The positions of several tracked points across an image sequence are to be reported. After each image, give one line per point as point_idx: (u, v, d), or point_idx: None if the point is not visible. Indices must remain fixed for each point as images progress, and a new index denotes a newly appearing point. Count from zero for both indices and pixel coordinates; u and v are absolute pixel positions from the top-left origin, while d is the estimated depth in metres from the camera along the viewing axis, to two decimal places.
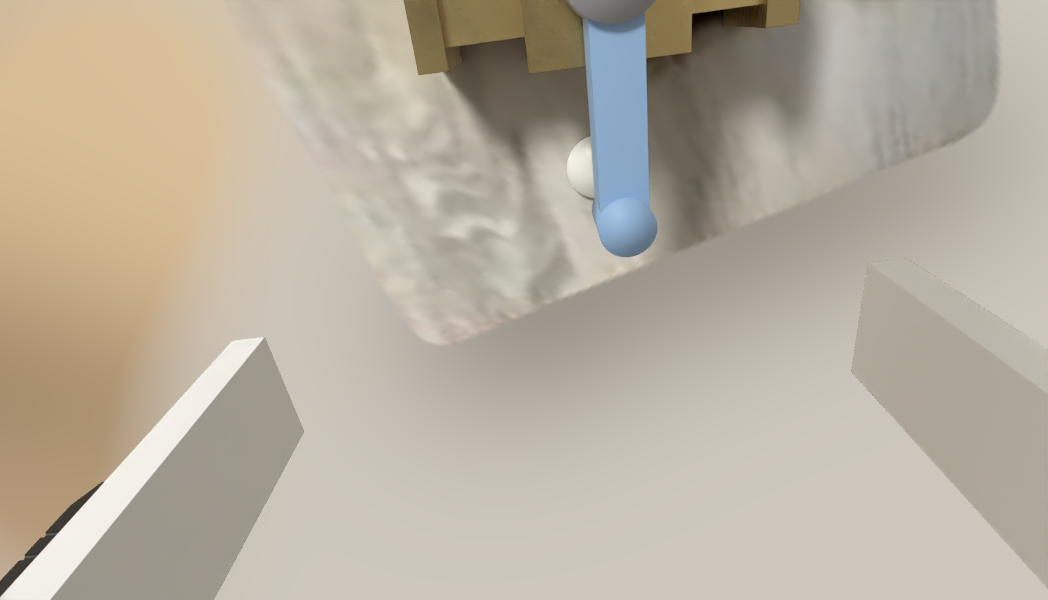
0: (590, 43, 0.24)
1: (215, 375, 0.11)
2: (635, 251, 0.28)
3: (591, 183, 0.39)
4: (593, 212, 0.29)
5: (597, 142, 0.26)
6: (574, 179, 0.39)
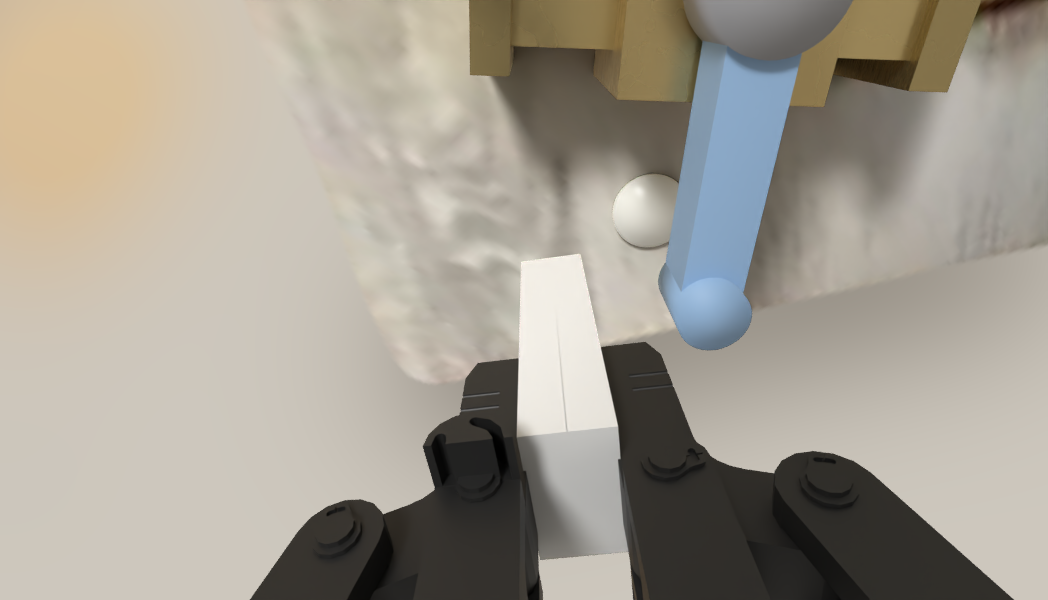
0: (721, 79, 0.18)
1: (534, 283, 0.13)
2: (716, 345, 0.22)
3: (638, 229, 0.33)
4: (663, 282, 0.24)
5: (699, 205, 0.20)
6: (619, 222, 0.33)
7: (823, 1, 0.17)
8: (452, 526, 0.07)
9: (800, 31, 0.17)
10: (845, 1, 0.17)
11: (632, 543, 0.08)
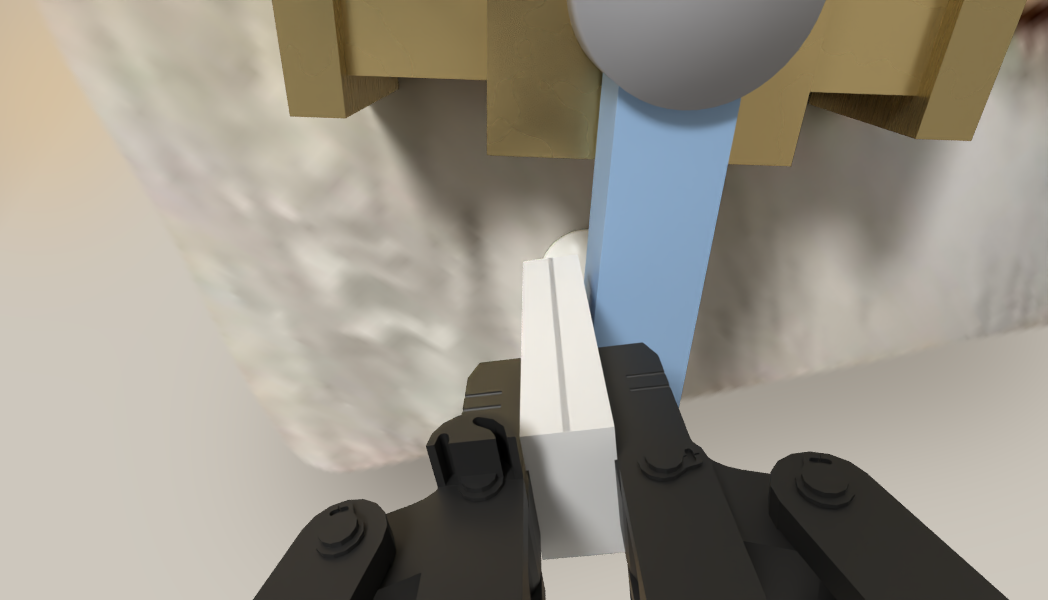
0: (614, 137, 0.11)
1: (536, 283, 0.13)
2: None
3: None
4: None
5: (596, 320, 0.13)
6: None
7: (770, 14, 0.10)
8: (455, 526, 0.07)
9: (734, 63, 0.10)
10: (808, 14, 0.10)
11: (629, 543, 0.08)
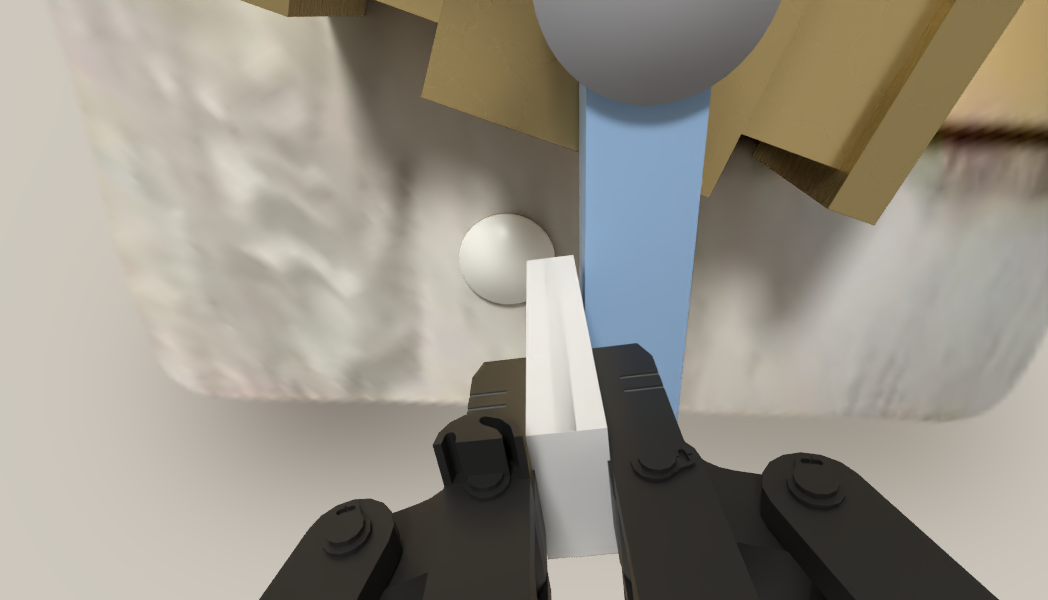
0: (587, 137, 0.11)
1: (540, 282, 0.13)
2: None
3: (488, 277, 0.26)
4: None
5: (587, 320, 0.13)
6: (466, 262, 0.25)
7: (731, 1, 0.10)
8: (462, 525, 0.07)
9: (699, 54, 0.10)
10: None
11: (623, 544, 0.08)
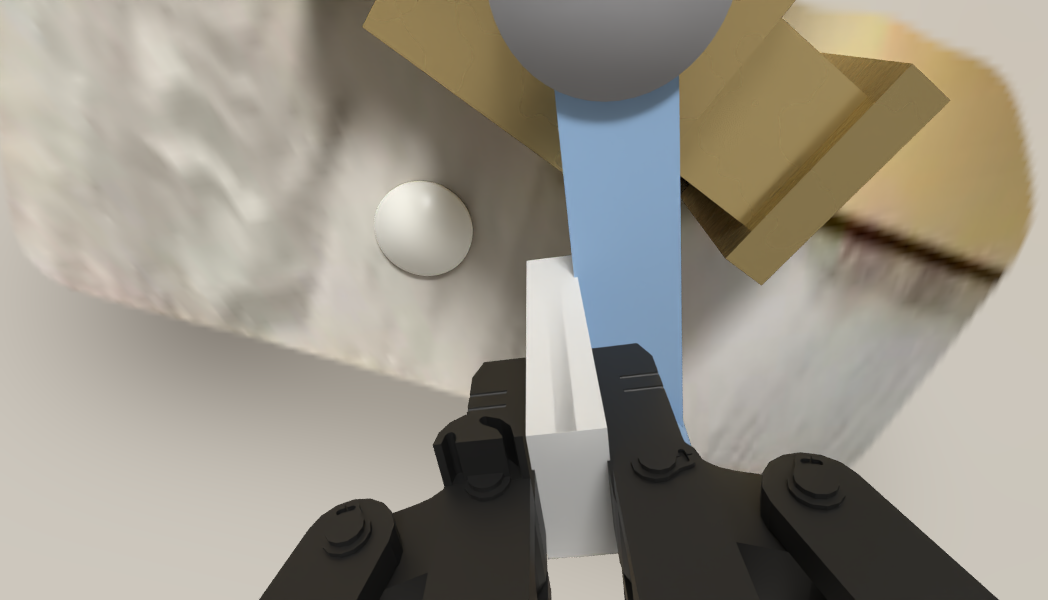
0: (561, 138, 0.11)
1: (540, 282, 0.13)
2: None
3: (400, 241, 0.25)
4: None
5: None
6: (381, 220, 0.25)
7: None
8: (461, 525, 0.07)
9: (661, 45, 0.10)
10: None
11: (623, 544, 0.08)
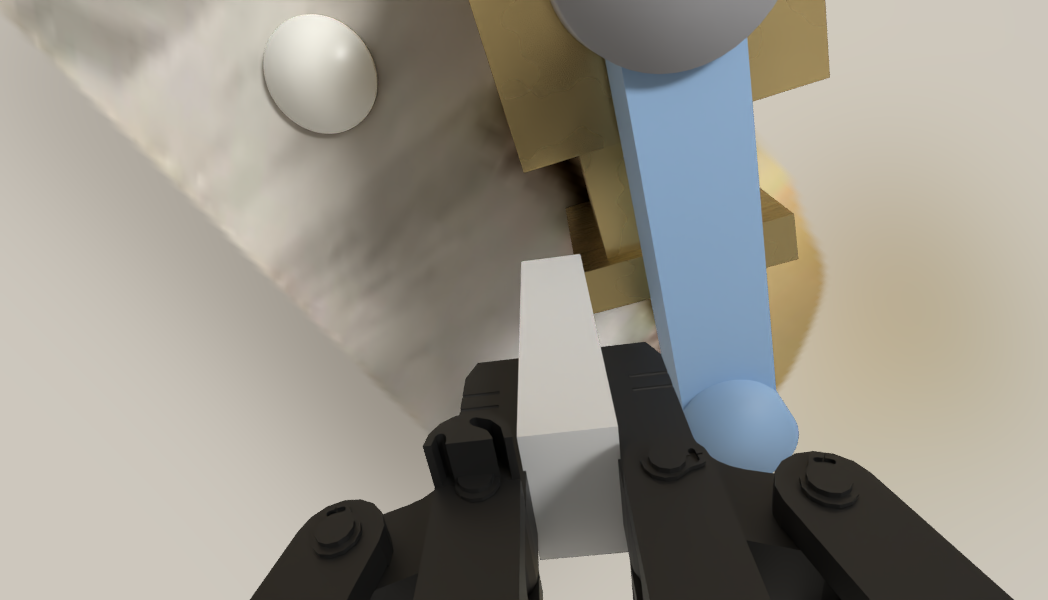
0: (631, 116, 0.11)
1: (534, 283, 0.13)
2: None
3: (289, 70, 0.22)
4: None
5: (665, 296, 0.13)
6: (283, 36, 0.21)
7: None
8: (452, 526, 0.07)
9: (729, 7, 0.10)
10: None
11: (632, 543, 0.08)
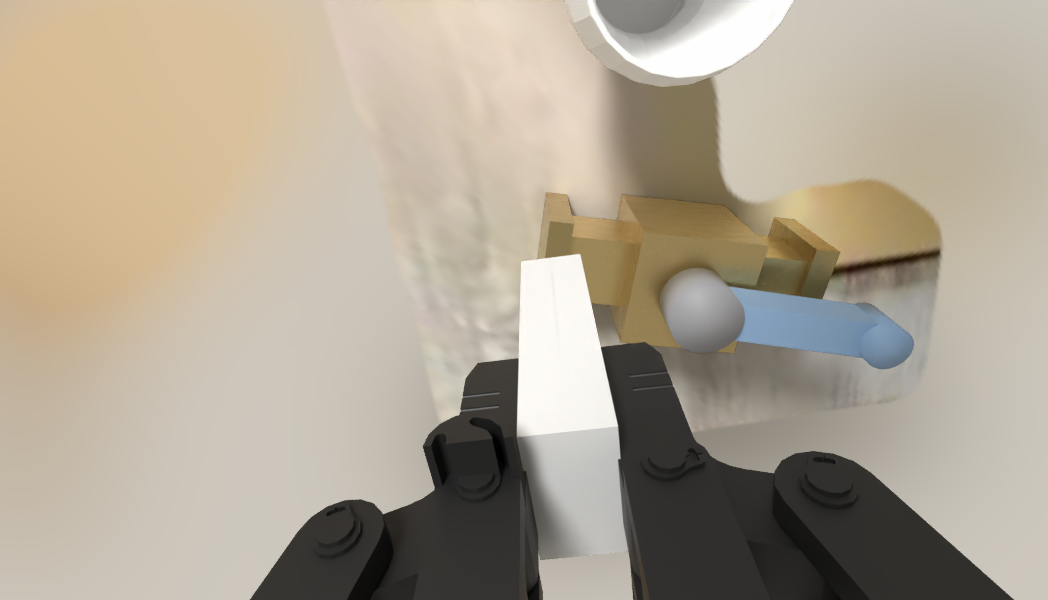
0: (744, 341, 0.34)
1: (534, 283, 0.13)
2: (909, 347, 0.34)
3: None
4: None
5: (809, 349, 0.35)
6: None
7: (722, 304, 0.33)
8: (452, 526, 0.07)
9: (733, 313, 0.33)
10: (725, 294, 0.32)
11: (632, 543, 0.08)
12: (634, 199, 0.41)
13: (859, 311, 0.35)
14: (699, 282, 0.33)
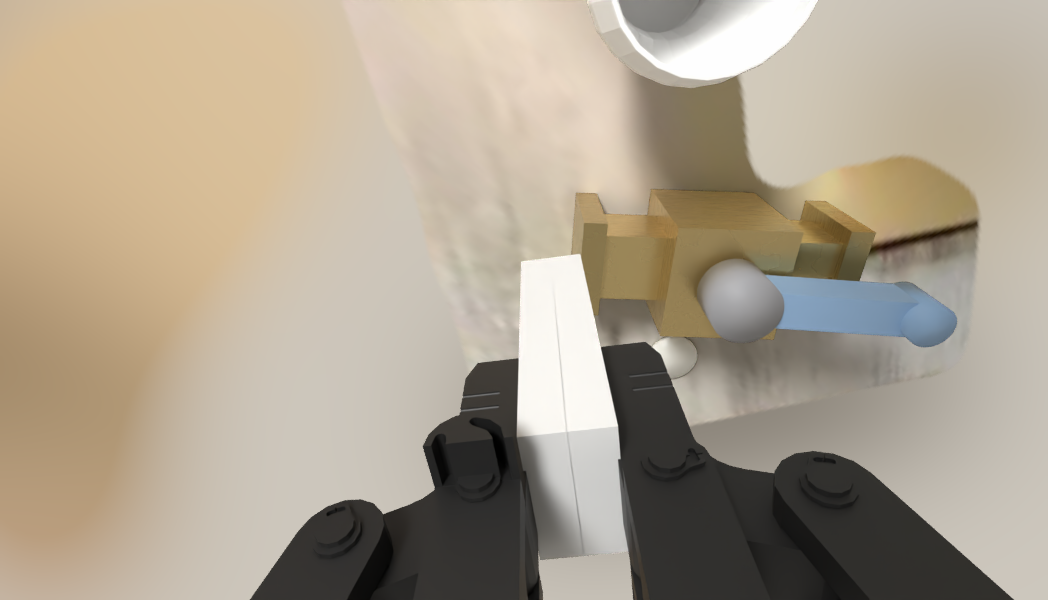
0: (784, 328, 0.35)
1: (534, 283, 0.13)
2: (953, 324, 0.34)
3: None
4: None
5: (851, 332, 0.35)
6: None
7: (761, 294, 0.33)
8: (452, 526, 0.07)
9: (773, 302, 0.33)
10: (764, 284, 0.33)
11: (632, 543, 0.08)
12: (664, 193, 0.42)
13: (899, 291, 0.35)
14: (736, 274, 0.34)
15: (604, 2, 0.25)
